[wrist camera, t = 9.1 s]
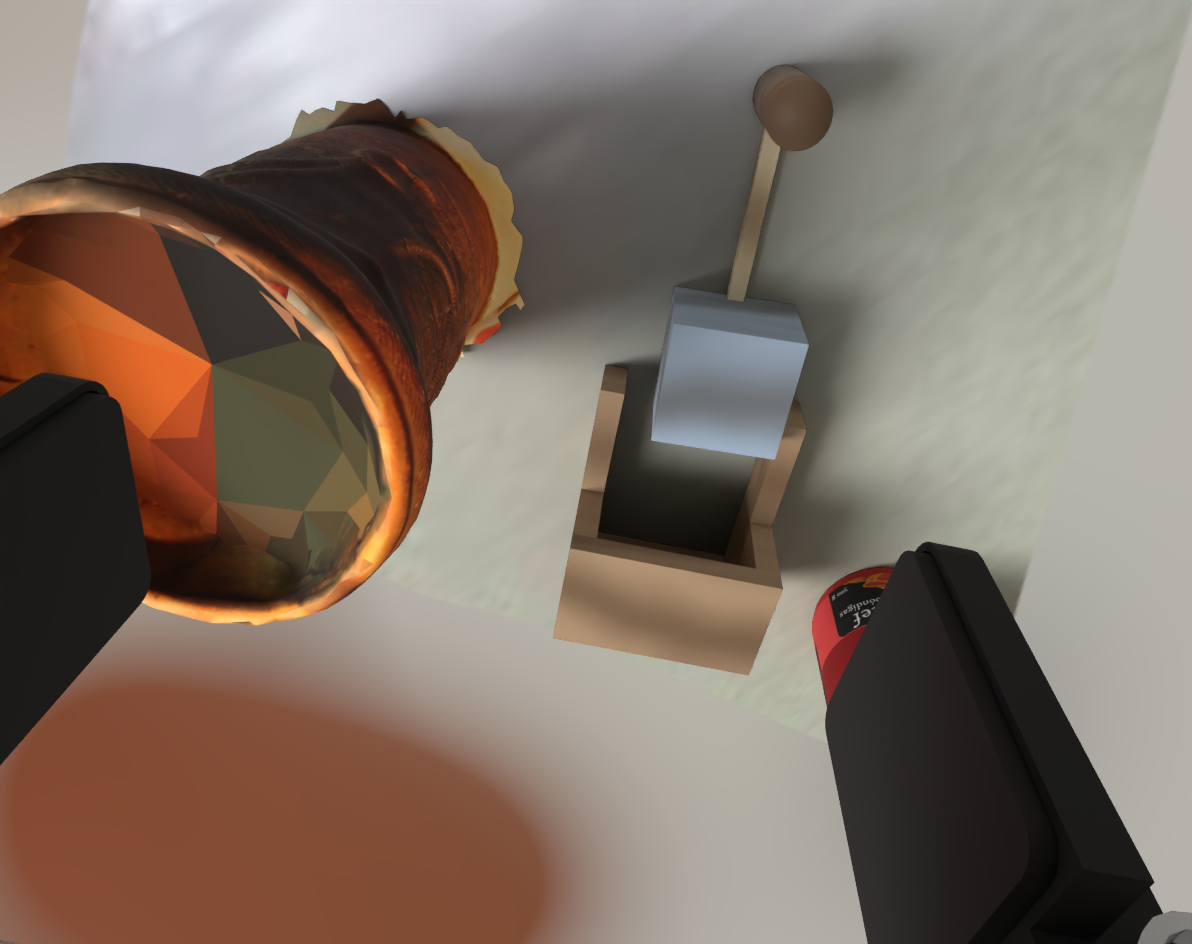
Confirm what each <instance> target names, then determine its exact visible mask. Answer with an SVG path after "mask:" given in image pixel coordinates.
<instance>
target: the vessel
mask: <svg viewBox="0 0 1192 944" xmlns="http://www.w3.org/2000/svg"><path fill="white" fill-rule="evenodd" d="M513 212H514V205H513V199H512V192H511V190H510V189H509V187H508V186H507V184H506V183H505V182H504V181H503V178H502V175H501V173H500V171H499V169H498V167H496V166H494V165H492V164H490V163H488V162H486V161H484V160H483V158H482V157H481V156H480V154H479V153H478V151H477V150H476V149H475V148H474V146H473V145H472V144H471V143H470V142H469V141H467V140H465V139H463V138H461V137H459V136H458V135H457V134H455V133H454V132H453V131H452V130H451V129H449V128H448V127H446V126H445V127H441V128H437V127H436V126H435V125H434V124H432V123H431V122H429V121H428V120H426V119H424V118H423V117H422V118H416V119H405V117H404V115H403V113H402V111H400V113H399V114H398V115H397V117H396V118H395V119H394V118H393V116H392V115H391V113H390V112H389V111H388V109H387V108H386V107H385V106H384V105H383V104H382V103H381V102H380V101H379V100H378V99H376V100H373V101H371V102H368V103H366V104H356V103H345V102H339V101H336V106H335V110H334V112H333V111H330V110H327V109H324V108H320V109H318V110H315V111H314V112H312V113H311V114H310V115H308V114H307V113H305V112H304V111H302V110H301V112H300V114H299V116H298V118H297V120H296V123H295V126H294V128H293V131H292V134H291V136H290V137H289V138H288V139H287V140H285V141H284V142H283V143H281V144H279V145H276V146H274V147H271V148H270V149H266V150H262V151H257V152H255V153H253V154H251V155H249V156H247V157H244V158H242V159H240V160H238V161H236V162H234V163H232V164H228V165H224V166H220V167H216V168H213V169H211V170H208V171H206V172H205V173H203V174H202V175H201V176H196V175H191V174H187V173H183V172H178V171H174V170H170V169H166V168H159V167H152V166H145V165H140V164H133V163H91V164H79V165H75V166H72V167H68V168H64V169H61V170H57V171H53V172H50V173H48V174H45V175H43V176H40V177H37V178H34V179H31V180H29V181H26V182H24V183H22V184H20V185H18V186H15V187H13V188H12V189H10V190H8V191H6V192H4V193H3V194H1V195H0V396H2V395H3V394H5V393H7V392H8V391H10V390H12V389H13V388H15V387H17V386H18V385H20V384H22V383H23V382H25V381H27V380H28V379H30V378H32V377H33V376H35V375H38V374H40V373H43V372H46V373H55V374H60V375H65V376H71V377H76V378H81V379H86V380H91V381H97V382H98V383H100V384H102V385H103V386H104V387H105V388H106V390H107V391H108V393H109V396H110V397H113V398H114V399H116V400H117V401H118V402H119V404H120V406H121V409H122V413H123V419H124V425H125V430H126V436H127V441H128V447H129V452H130V458H131V464H132V469H133V475H134V480H135V486H136V491H137V497H138V502H139V508H140V514H141V519H142V525H143V530H144V536H145V541H146V547H147V553H148V558H149V564H150V569H151V582H150V586H149V590H148V592H147V594H146V596H145V598H144V600H143V601H142V603H144V604H146V605H149V606H150V607H153V608H156V609H160V610H164V611H167V612H171V613H174V614H178V615H182V616H185V617H189V618H193V619H197V620H202V621H207V622H212V623H240V624H248V625H260V624H265V623H270V622H275V621H283V620H291V619H296V618H301V617H305V616H308V615H311V614H314V613H317V612H319V611H322V610H325V609H327V608H329V607H330V606H332V605H334V604H336V603H337V602H339V601H340V600H342V599H344V598H345V597H347V596H348V595H350V594H351V593H352V592H353V591H355V590H356V589H357V588H358V587H360V586H361V585H362V584H363V583H364V582H365V581H366V580H367V579H368V578H370V577H371V575H372V574H374V573H375V572H376V571H377V570H378V569H379V568H380V566H381V565H382V564H383V563H384V562H385V561H386V560H387V559H388V558H389V557H390V556H391V554H392V553H393V552H394V551H395V550H396V549H397V548H398V547H399V546H400V544H401V543H402V542H403V540H404V539H405V537H406V535H407V533H408V532H409V530H410V528H411V527H412V525H413V524H414V522H415V521H416V519H417V517H418V514H419V512H420V509H421V506H422V503H423V500H424V497H425V493H426V489H427V486H428V482H429V477H430V471H431V464H432V444H433V440H432V423H431V413H430V406H431V404H432V403H433V401H434V400H435V399H436V398H437V397H438V395H439V393H440V391H441V389H442V387H443V385H444V384H445V381H446V379H447V376H448V374H449V373H450V372H451V370H452V369H453V367H454V366H455V364H456V362H457V361H458V359H459V357H464V354H463V352H462V350H463V347H464V345H469V344H476V343H483V342H484V341H485V340H487V339H488V338H489V337H490V336H491V335H492V334H494V333H495V332H496V331H497V330H498V329H500V328H501V327H502V326H501V324H500V321H499V319H498V316H499V315H500V314H501V313H502V312H503V311H504V310H505V309H506V308H507V307H510V306H512V305H514V304H516V305H517V306H518V307H519V309H520V310H521V309H522V308H523V306H524V302H523V300H522V298H521V295H520V293H519V290H518V288H517V286H516V284H515V281H514V277H515V274H516V271H517V267H518V263H519V259H520V254H521V250H522V241H523V237H522V235H521V234H520V233H519V231H518V230H517V229H516V227H515V226H514V224H513V223H512V222H511V219H512V216H513Z"/></svg>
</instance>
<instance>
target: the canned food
mask: <svg viewBox="0 0 1192 944" xmlns="http://www.w3.org/2000/svg"><path fill="white" fill-rule="evenodd" d="M893 569H894V568H871V569H867V570H862V571H858V572H856V573H853V574H850V575H848V576H846V577H844V578H842V579H841V580H839V581H837V582H836V583H835V584H833V585H832V586H831V587H830V588H828V590H827V591H826V592H825V593H824V594H823V595H822V597H821V598H820V600H819V602H818V604H817V606H816V609H815V613H814V617H813V621H812V634H813V639H814V644H815V649H816V655H817V660H818V665H819V670H820V675H821V680H822V685H823V690H824V695H825V700H826V705H827V707H828V704H829V701H830V699H831V697H832V694H833V692H834V690H835V688H836V686H837V684H838V682H839V680H840V678H841V676H842V674H843V672H844V670H845V668H846V666H847V664H848V662H849V660H850V658H851V655H852V653H853V651H854V649H855V647H856V645H857V643H858V641H859V639H860V637H861V635H862V633H863V631H864V629H865V627H866V625H867V623H868V621H869V619H870V616H871V614H872V612H873V610H874V608H875V606H876V604H877V602H878V600H879V598H880V596H881V594H882V592H883V590H884V588H885V586H886V584H887V582H888V580H889V577H890V575H891V573H892V571H893Z"/></svg>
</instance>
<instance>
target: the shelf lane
mask: <svg viewBox="0 0 1192 944" xmlns="http://www.w3.org/2000/svg"><path fill="white" fill-rule="evenodd" d="M627 373H628V369H624V368H619V367H614V366H609V365H605V370H604V375H603V381H602V386H601V391H600V396H599V401H598V406H597V412H596V417H595V422H594V427H593V432H592V437H591V443H590V448H589V453H588V458H587V463H586V468H585V474H584V479H583V484H582V489H581V494H580V499H579V504H578V510H577V515H576V520H575V525H574V530H573V535H572V541H571V546H570V551H569V556H568V561H567V566H566V572H565V577H564V582H563V587H562V592H561V598H560V603H559V608H558V613H557V618H556V624H555V629H554V634H553V638H555V639H560V640H565V641H570V642H576V643H581V644H586V645H591V646H597V647H602V648H607V649H613V650H618V651H623V652H628V653H634V654H639V655H644V656H649V657H655V658H660V659H665V660H670V661H676V662H681V663H686V664H691V665H697V666H702V667H707V668H712V669H718V670H723V671H728V672H733V673H739V674H744V675H749V673H750V671H751V668H752V666H753V663H754V661H755V658H756V656H757V653H758V651H759V648H760V646H761V643H762V641H763V638H764V636H765V633H766V631H767V628H768V626H769V623H770V620H771V618H772V615H773V613H774V610H775V608H776V605H777V603H778V600H779V598H780V595H781V593H782V590H783V587H782V582H781V576H780V570H779V564H778V558H777V553H776V547H775V541H774V535H773V529H772V524H773V521H774V519H775V516H776V513H777V510H778V508H779V505H780V502H781V500H782V497H783V494H784V491H785V489H786V486H787V483H788V480H789V478H790V475H791V472H792V469H793V467H794V464H795V461H796V458H797V456H798V453H799V450H800V447H801V445H802V442H803V439H804V436H805V434H806V431H807V429H806V425H805V422H804V418H803V415H802V411H801V408H800V405H799V403H798V402H793V401H792V404H791V407H790V411H789V414H788V417H787V421H786V424H785V428H784V431H783V434H782V438H781V441H780V444H779V448H778V451H777V454H776V458H775V460H772V459H766V458H760V457H757V459H756V462H755V465H754V468H753V471H752V474H751V477H750V480H749V483H748V486H747V489H746V492H745V495H744V498H743V501H742V504H741V507H740V510H739V513H738V516H737V519H736V522H735V525H734V528H733V531H732V534H731V537H730V540H729V543H728V546H727V549H726V552H725V555H724V556H721V555H716V554H711V553H706V552H701V551H695V550H690V549H685V548H680V547H675V546H669V545H664V544H659V543H654V542H649V541H643V540H638V539H633V538H628V537H623V536H617V535H612V534H607V533H602V532H598V528H599V521H600V514H601V507H602V500H603V494H604V489H605V484H606V480H607V475H608V470H609V465H610V461H611V456H612V451H613V447H614V442H615V437H616V433H617V428H618V423H619V419H620V414H621V409H622V404H623V400H624V395H625V388H626V380H627Z"/></svg>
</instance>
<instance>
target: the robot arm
mask: <svg viewBox="0 0 1192 944" xmlns="http://www.w3.org/2000/svg"><path fill="white" fill-rule="evenodd" d="M150 582H151V569H150V564H149V558H148V553H147V547H146V541H145V536H144V530H143V525H142V519H141V514H140V508H139V502H138V497H137V491H136V486H135V480H134V475H133V469H132V464H131V458H130V452H129V447H128V441H127V436H126V430H125V425H124V419H123V413H122V409H121V406H120V404H119V402H118V401H117V400H116V399H114V398H113V397H110V396H109V393H108V391H107V390H106V388H105V387H104V386H103V385H102V384H100V383H98V382H97V381H91V380H86V379H81V378H76V377H71V376H65V375H60V374H55V373H46V372H43V373H40V374H38V375H35V376H33V377H32V378H30V379H28V380H27V381H25V382H23V383H22V384H20V385H18V386H17V387H15V388H13V389H12V390H10V391H8V392H7V393H5V394H3V395H2V396H0V765H1V764H2V763H3V762H4V760H5V759H6V758H7V757H8V756H9V755H10V753H11V752H12V751H13V750H14V749H15V748H16V746H17V745H18V744H19V743H20V742H21V741H22V740H23V739H24V737H25V736H26V735H27V734H28V733H29V732H30V730H31V729H32V728H33V727H34V726H35V724H37V722H38V721H39V720H40V719H41V718H42V717H43V715H44V714H45V713H46V712H47V711H48V710H49V709H50V707H51V706H52V705H53V704H54V703H55V702H56V700H57V699H58V698H59V697H60V696H61V695H62V694H63V693H64V691H65V690H66V689H67V688H68V687H69V686H70V684H71V683H72V682H73V681H74V680H75V679H76V677H77V676H78V675H79V674H80V673H81V672H82V671H83V669H84V668H85V667H86V666H87V665H88V664H89V663H90V662H91V660H92V659H93V658H94V657H95V656H96V654H97V653H98V652H99V651H100V650H101V649H102V647H104V645H105V644H106V643H107V642H108V641H109V640H110V639H111V637H112V636H113V635H114V634H115V633H116V632H117V630H118V629H119V628H120V627H121V626H122V625H123V623H124V622H125V621H126V620H127V619H128V618H129V617H130V615H131V614H132V613H133V612H134V611H135V610H136V609H137V607H138V606H139V605H140V604H141V603H142V601H143V600H144V598H145V596H146V594H147V592H148V590H149V586H150ZM825 728H826V735H827V740H828V745H829V750H830V755H831V760H832V765H833V770H834V775H835V780H836V785H837V790H838V796H839V800H840V806H841V811H842V816H843V820H844V826H845V831H846V836H847V841H848V846H849V851H850V856H851V861H852V866H853V871H854V876H855V881H856V886H857V891H858V896H859V901H860V906H861V911H862V916H863V921H864V926H865V932H866V937H867V942H868V944H1192V913H1187V912H1176V911H1170V912H1167V913H1164V914H1163V912H1162V910H1161V908H1160V906H1159V904H1158V903H1157V901H1156V899H1155V897H1154V895H1153V893H1152V891H1151V889H1150V886H1151V885H1152V884H1153V883H1154V881H1153V879H1152V877H1151V875H1150V873H1149V871H1148V869H1147V867H1146V865H1145V864H1144V862H1143V860H1142V858H1141V856H1140V854H1139V852H1138V850H1137V849H1136V847H1135V845H1134V843H1133V841H1132V839H1131V838H1130V835H1129V834H1128V832H1127V830H1126V828H1125V826H1124V824H1123V822H1122V820H1121V819H1120V817H1119V815H1118V813H1117V811H1116V809H1115V807H1114V805H1113V804H1112V802H1111V800H1110V798H1109V796H1108V794H1107V792H1106V790H1105V788H1104V787H1103V785H1102V783H1101V781H1100V779H1099V777H1098V775H1097V773H1096V771H1095V770H1094V768H1093V766H1092V764H1091V762H1090V760H1089V758H1088V756H1087V755H1086V753H1085V751H1084V749H1083V747H1082V745H1081V743H1080V741H1079V739H1078V738H1077V736H1076V734H1075V732H1074V730H1073V728H1072V727H1071V725H1070V723H1069V721H1068V719H1067V717H1066V715H1065V713H1064V711H1063V709H1062V708H1061V706H1060V704H1059V702H1058V700H1057V698H1056V696H1055V694H1054V692H1053V691H1052V689H1051V687H1050V685H1049V683H1048V681H1047V679H1046V677H1045V676H1044V674H1043V672H1042V670H1041V668H1040V666H1039V664H1038V662H1037V661H1036V659H1035V657H1034V655H1033V653H1032V651H1031V649H1030V648H1029V645H1028V644H1027V642H1026V640H1025V638H1024V636H1023V634H1022V632H1021V630H1020V629H1019V627H1018V625H1017V623H1016V621H1015V619H1014V617H1013V615H1012V613H1011V612H1010V610H1009V608H1008V606H1007V604H1006V602H1005V600H1004V598H1003V597H1002V595H1001V593H1000V591H999V589H998V587H997V585H996V583H995V582H994V580H993V578H992V576H991V574H990V572H989V570H988V568H987V566H986V565H985V563H984V561H983V559H982V557H981V556H980V555H979V554H978V552H975V551H973V550H968V549H963V548H958V547H953V546H947V545H942V544H937V543H932V542H925V543H923V544H921V545H920V546H919V547H918V548H917V550H916V551H915V552H914V551H909V550H908V551H905V552H904V553H903V554H902V555H901V556H900V558H899V559H898V561H897V563H896V565H895V567H894V569H893V571H892V573H891V575H890V577H889V580H888V582H887V584H886V586H885V588H884V590H883V592H882V594H881V596H880V598H879V600H878V602H877V604H876V606H875V608H874V610H873V612H872V614H871V616H870V619H869V621H868V623H867V625H866V627H865V629H864V631H863V633H862V635H861V637H860V639H859V641H858V643H857V645H856V647H855V649H854V651H853V653H852V655H851V658H850V660H849V662H848V664H847V666H846V668H845V670H844V672H843V674H842V676H841V678H840V680H839V682H838V684H837V686H836V688H835V690H834V692H833V694H832V697H831V699H830V701H829V704H828V707H827V711H826V719H825ZM0 944H19V943H13V942H8V941H3V940H0Z"/></svg>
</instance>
